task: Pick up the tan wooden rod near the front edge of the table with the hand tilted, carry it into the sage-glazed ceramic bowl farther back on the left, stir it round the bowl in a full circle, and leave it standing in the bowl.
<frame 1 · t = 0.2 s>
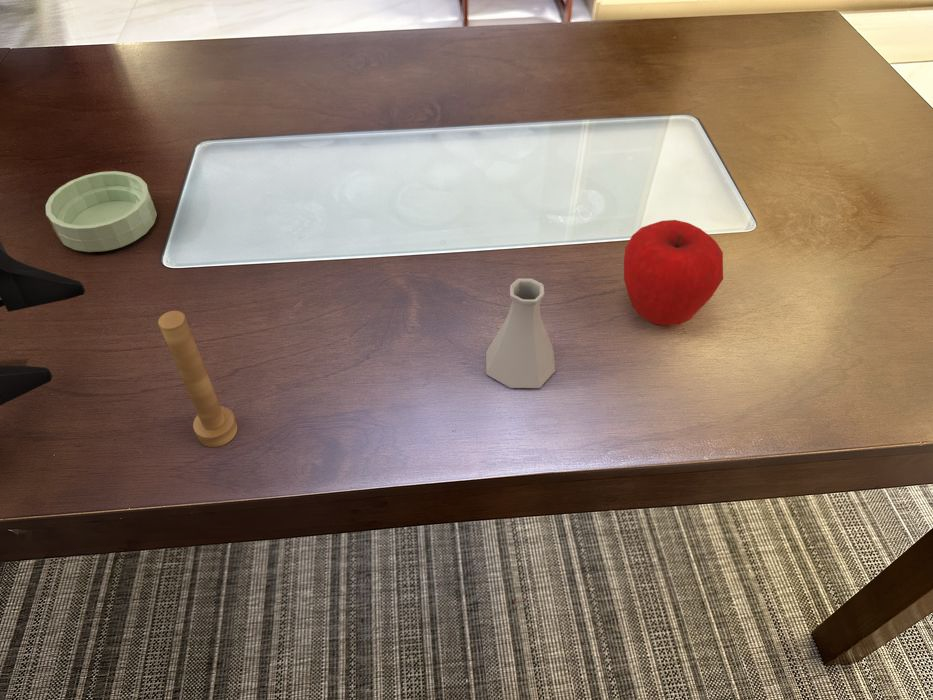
hand: (67, 328, 55), 14 cm above the table, tool horizontal, fingers open, 9 cm apart
apple: (658, 312, 78), on the table
bowl: (109, 226, 87), on the table
tan wooden rod: (217, 431, 66), on the table
flask: (520, 364, 72), on the table
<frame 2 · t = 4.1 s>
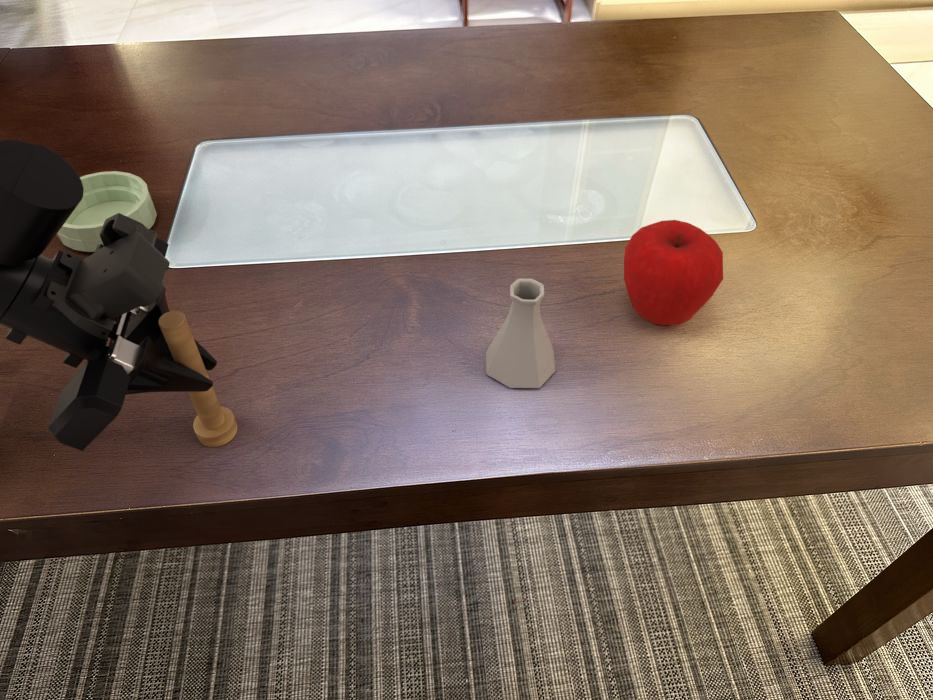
hand: (212, 376, 61), 8 cm above the table, tool tilted 45°, fingers closed on tan wooden rod, 2 cm apart
tan wooden rod: (217, 431, 66), on the table, touching gripper
everything else where it was.
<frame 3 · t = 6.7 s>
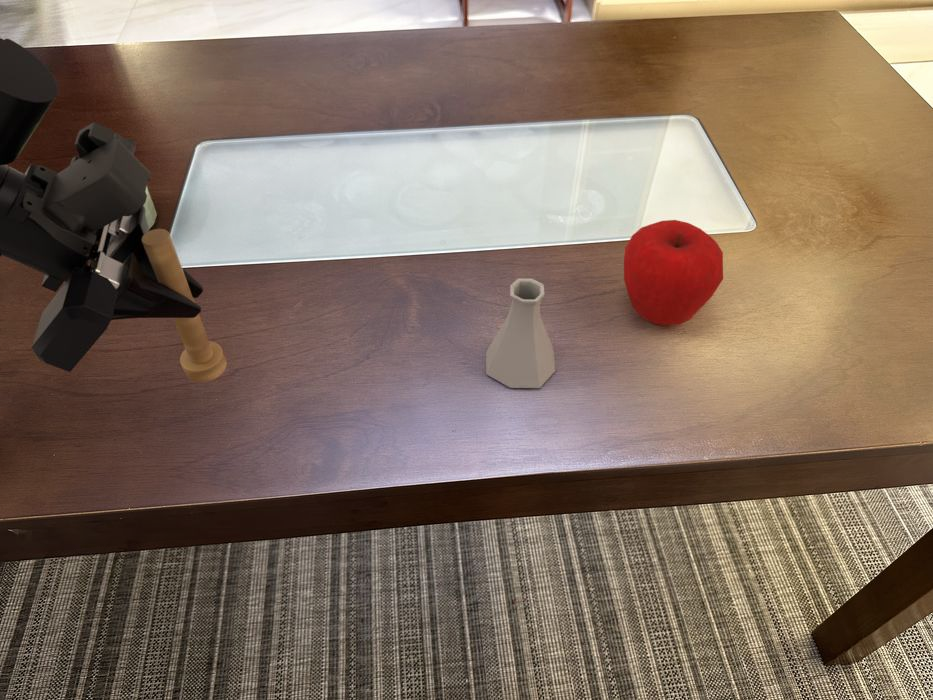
hand: (199, 303, 58), 14 cm above the table, tool tilted 45°, fingers closed on tan wooden rod
tan wooden rod: (205, 367, 64), point 6 cm above the table, touching gripper
everything else where it was.
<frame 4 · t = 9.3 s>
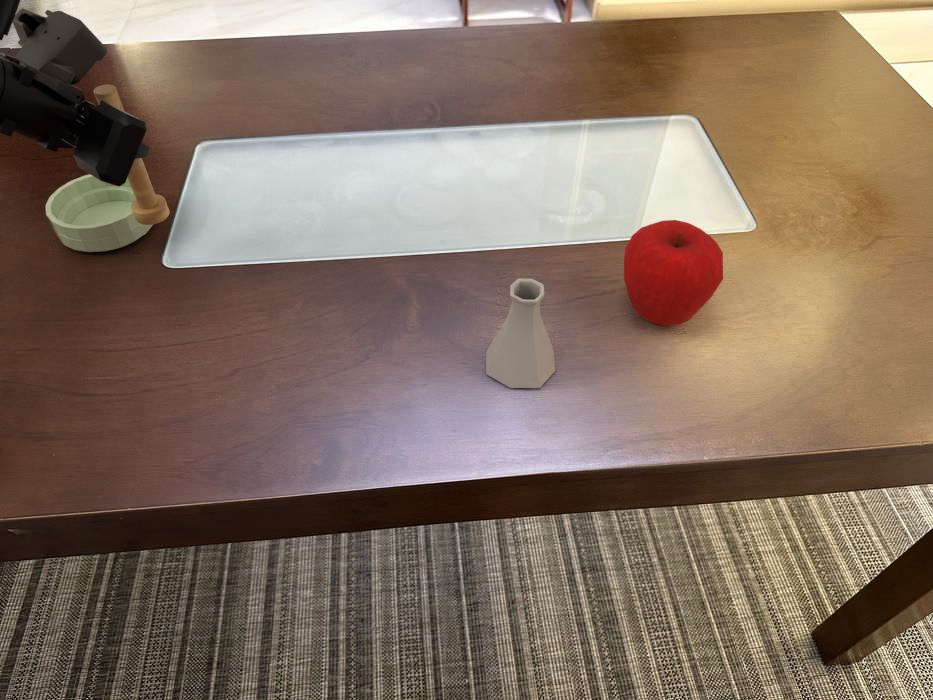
hand: (140, 148, 74), 14 cm above the table, tool tilted 45°, fingers closed on tan wooden rod
tan wooden rod: (152, 215, 78), point 6 cm above the table, touching gripper
everything else where it was.
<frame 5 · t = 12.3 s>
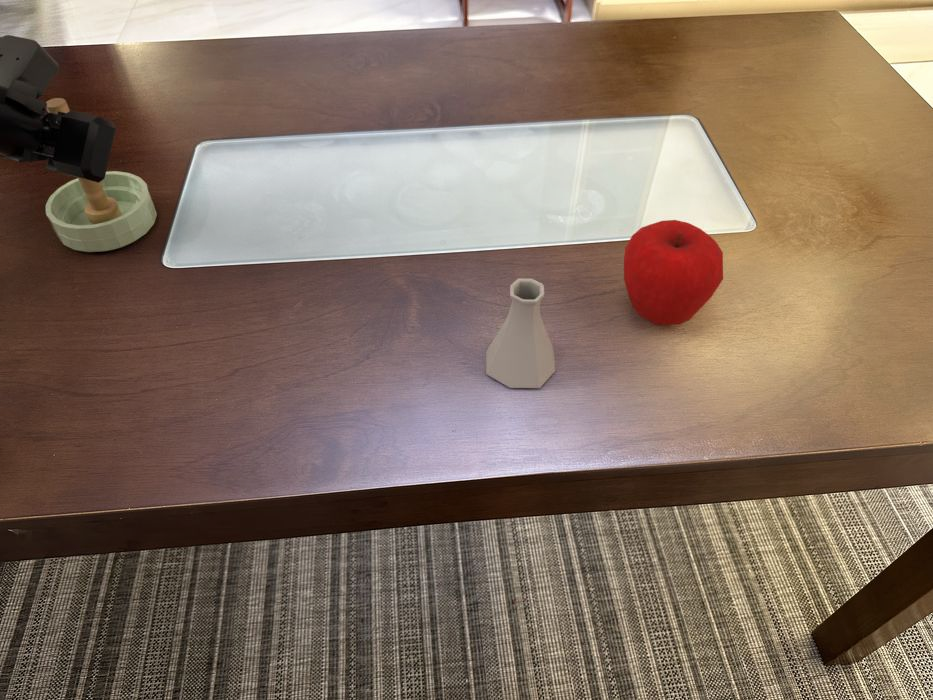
hand: (88, 154, 81), 9 cm above the table, tool tilted 45°, fingers closed on tan wooden rod, 2 cm apart
tan wooden rod: (105, 216, 86), point 2 cm above the table, touching gripper
everything else where it was.
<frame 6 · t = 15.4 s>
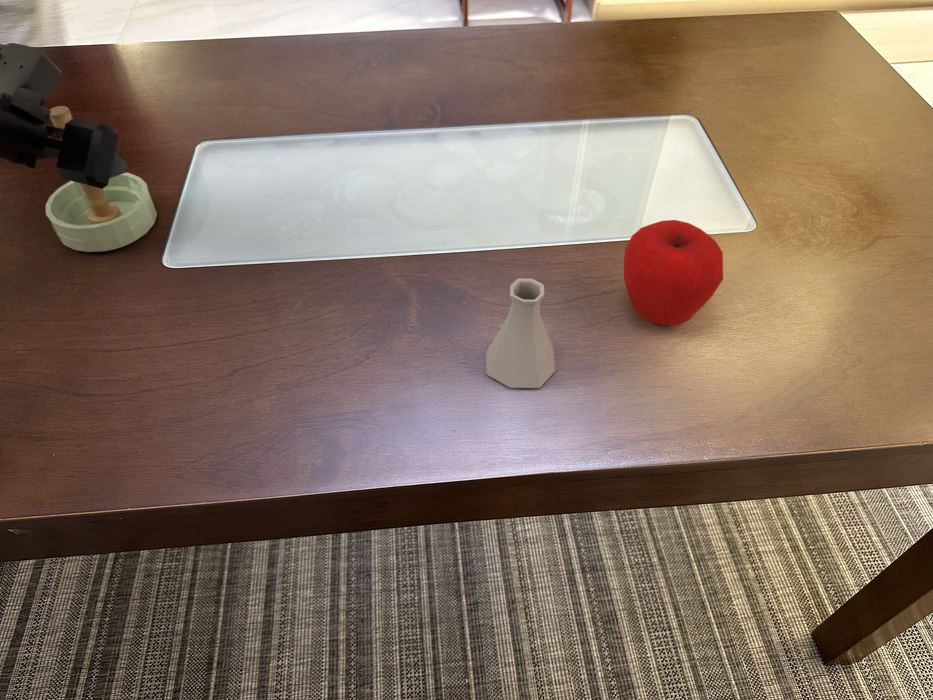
hand: (91, 159, 82), 8 cm above the table, tool tilted 45°, fingers open, 9 cm apart
tan wooden rod: (107, 222, 86), point 1 cm above the table, touching bowl
everything else where it was.
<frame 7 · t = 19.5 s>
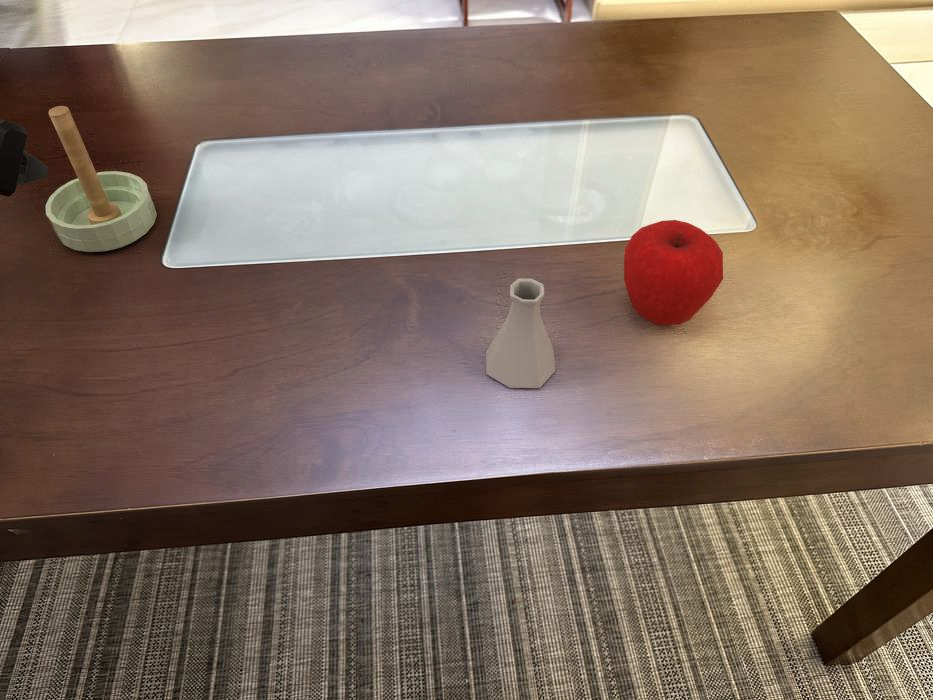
hand: (8, 162, 72), 14 cm above the table, tool tilted 45°, fingers open, 9 cm apart
nothing on the table moved.
at the end: tan wooden rod 0.0 cm off-centre in the bowl, point 0.6 cm above the bowl's base; tan wooden rod tilted 0°; the gripper is holding nothing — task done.
